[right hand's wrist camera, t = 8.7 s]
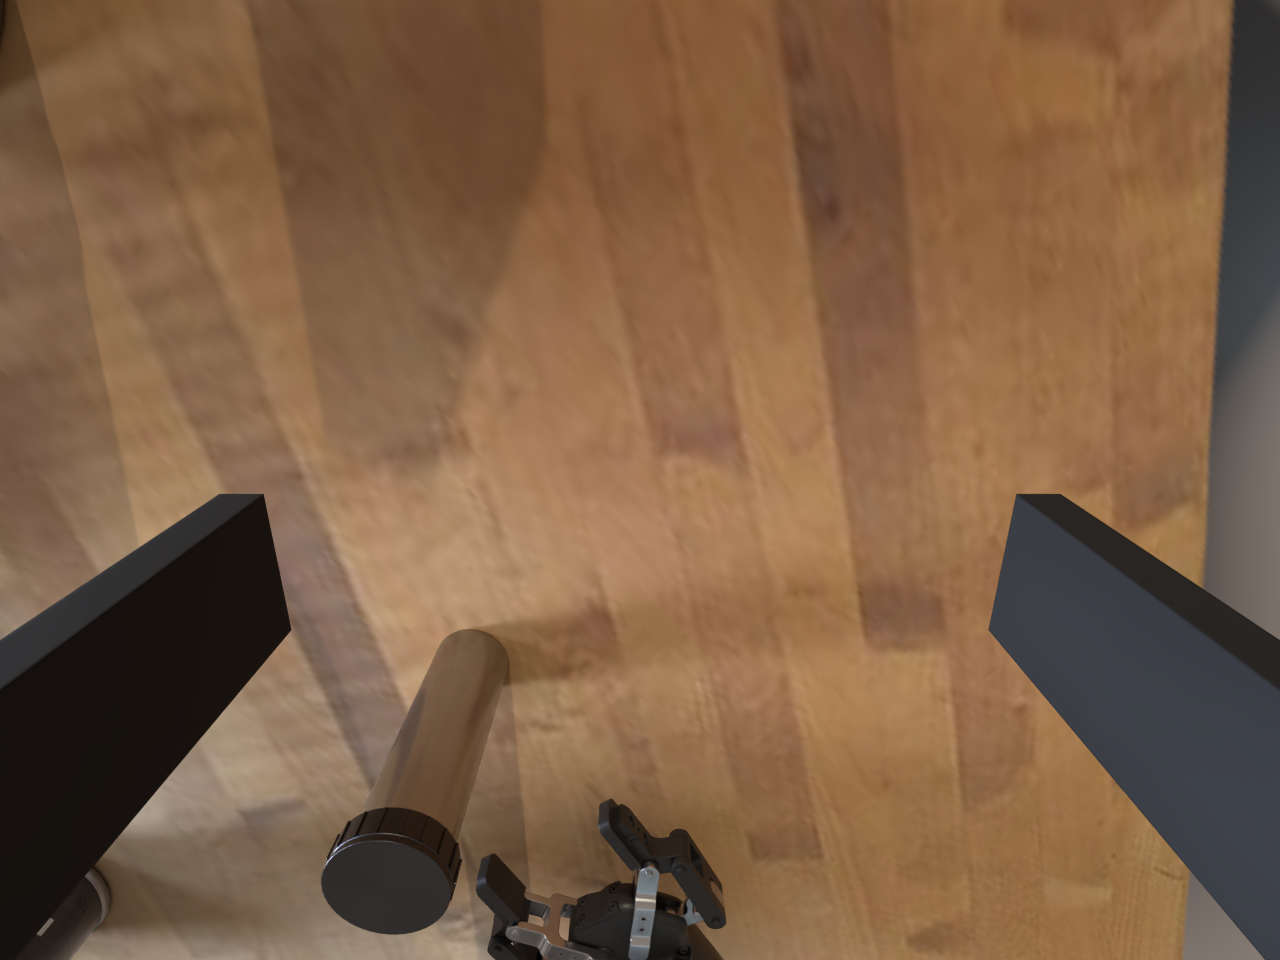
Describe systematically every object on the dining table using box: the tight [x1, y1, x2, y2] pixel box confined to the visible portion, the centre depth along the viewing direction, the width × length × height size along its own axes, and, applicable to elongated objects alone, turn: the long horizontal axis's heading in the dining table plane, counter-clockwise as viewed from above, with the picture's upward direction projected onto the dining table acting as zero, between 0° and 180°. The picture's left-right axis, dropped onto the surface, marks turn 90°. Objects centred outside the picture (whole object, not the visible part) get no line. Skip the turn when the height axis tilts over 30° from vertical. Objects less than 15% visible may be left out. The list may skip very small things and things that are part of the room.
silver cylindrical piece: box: [361, 630, 508, 842], centre depth 37 cm, size 5×5×16 cm
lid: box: [321, 807, 462, 934], centre depth 30 cm, size 6×6×2 cm
